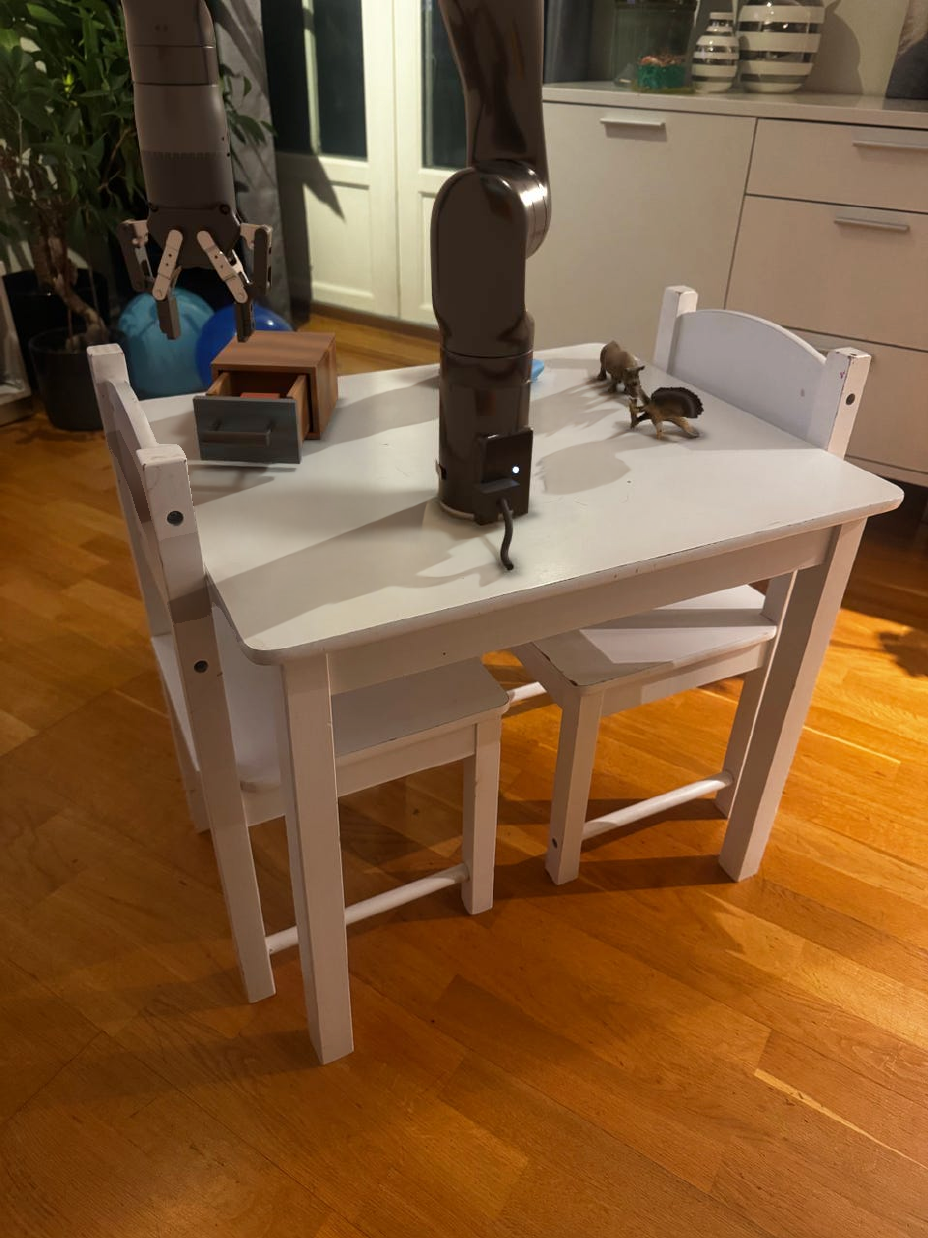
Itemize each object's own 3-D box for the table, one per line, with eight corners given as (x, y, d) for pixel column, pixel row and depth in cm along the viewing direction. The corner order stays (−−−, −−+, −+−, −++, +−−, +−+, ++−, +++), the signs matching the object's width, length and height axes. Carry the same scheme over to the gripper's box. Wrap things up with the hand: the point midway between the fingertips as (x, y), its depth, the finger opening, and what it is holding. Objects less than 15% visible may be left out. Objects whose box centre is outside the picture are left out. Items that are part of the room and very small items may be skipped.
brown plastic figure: (631, 436, 114) (705, 428, 112) (626, 379, 114) (701, 370, 112) (631, 448, 121) (701, 440, 119) (627, 394, 121) (697, 386, 120)
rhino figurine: (621, 408, 125) (626, 365, 122) (592, 376, 137) (596, 336, 133) (650, 407, 126) (656, 364, 123) (618, 375, 137) (623, 335, 134)
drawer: (290, 483, 100) (285, 419, 96) (187, 479, 100) (177, 415, 97) (320, 421, 116) (316, 364, 112) (230, 418, 116) (224, 361, 112)
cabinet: (320, 439, 113) (315, 366, 109) (219, 435, 114) (210, 363, 109) (338, 399, 126) (335, 332, 121) (247, 396, 126) (240, 329, 121)
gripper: (85, 145, 76) (121, 348, 85) (257, 150, 76) (275, 353, 85) (117, 136, 82) (148, 326, 91) (276, 141, 82) (291, 331, 91)
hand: (209, 338), depth 88 cm, fingers open, 6 cm apart
